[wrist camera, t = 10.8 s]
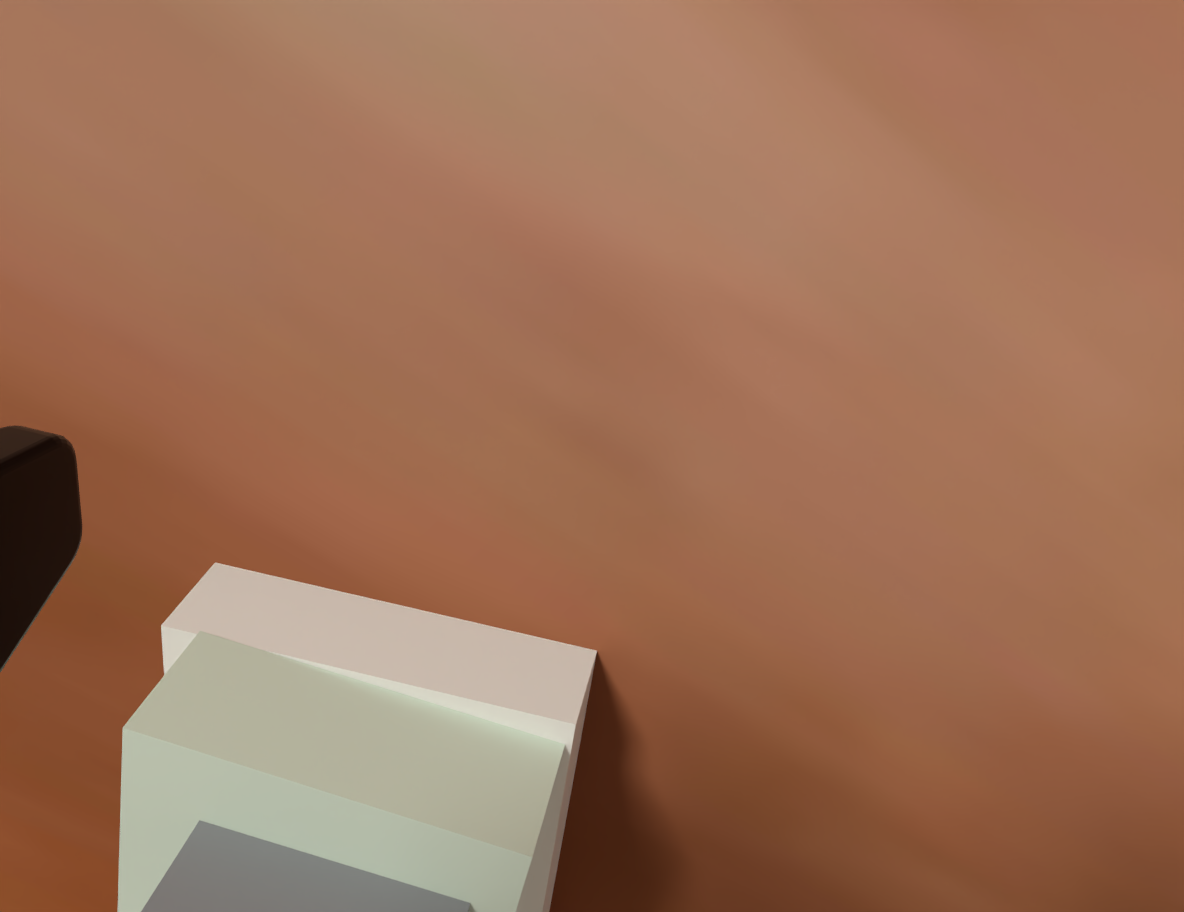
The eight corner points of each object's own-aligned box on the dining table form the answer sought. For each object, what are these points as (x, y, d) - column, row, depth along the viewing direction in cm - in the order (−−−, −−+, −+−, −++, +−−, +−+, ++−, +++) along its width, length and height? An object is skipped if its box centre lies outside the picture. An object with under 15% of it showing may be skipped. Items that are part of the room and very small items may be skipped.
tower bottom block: (601, 635, 26) (575, 724, 23) (552, 898, 30) (526, 998, 27) (227, 548, 26) (161, 625, 24) (233, 817, 31) (179, 906, 28)
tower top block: (565, 744, 23) (532, 856, 21) (493, 978, 27) (458, 1097, 25) (200, 630, 24) (122, 727, 21) (182, 878, 28) (115, 985, 25)
